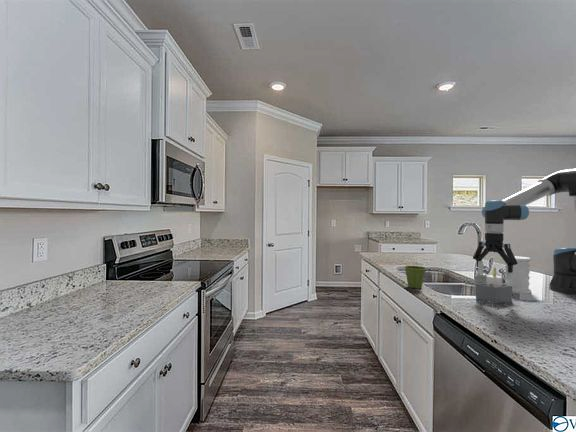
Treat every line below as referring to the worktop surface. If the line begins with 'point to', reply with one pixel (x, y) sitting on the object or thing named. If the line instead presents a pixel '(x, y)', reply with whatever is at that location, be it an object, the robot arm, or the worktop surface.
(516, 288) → the decorative container
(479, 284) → the slate holder
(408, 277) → the plant pot
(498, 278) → the candle
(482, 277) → the teacup
